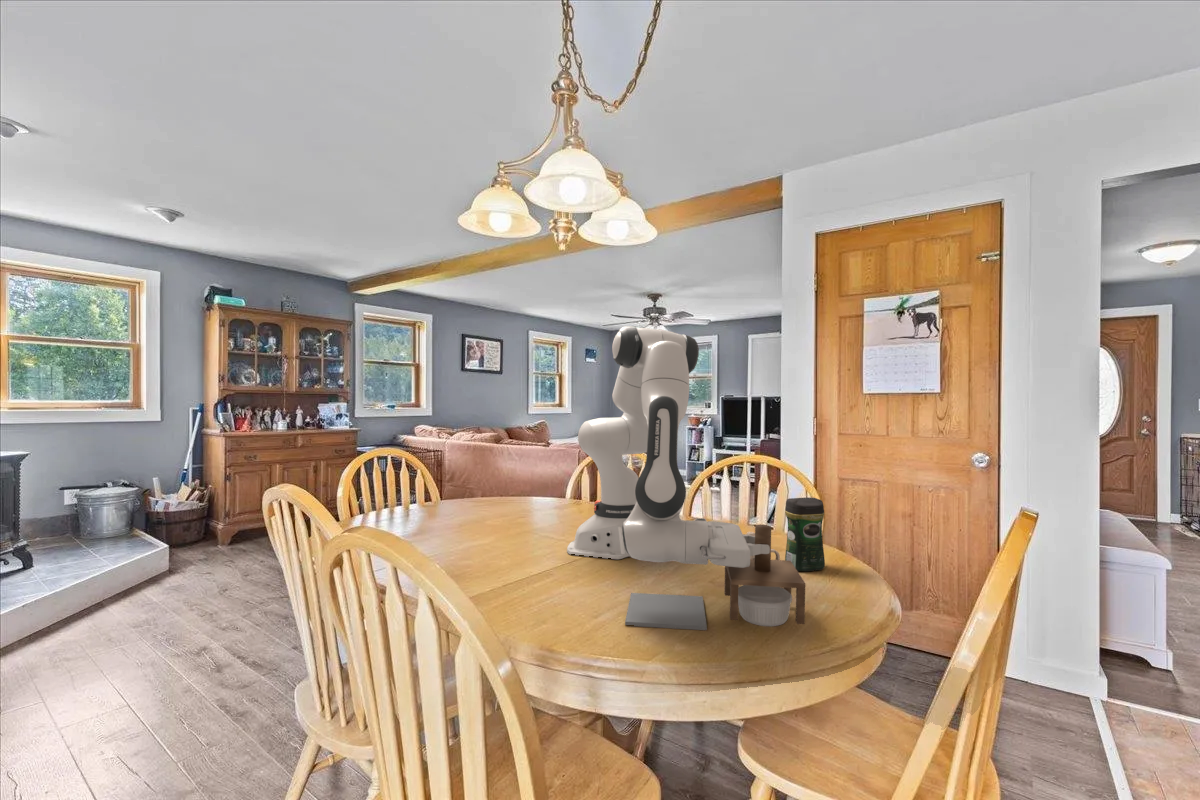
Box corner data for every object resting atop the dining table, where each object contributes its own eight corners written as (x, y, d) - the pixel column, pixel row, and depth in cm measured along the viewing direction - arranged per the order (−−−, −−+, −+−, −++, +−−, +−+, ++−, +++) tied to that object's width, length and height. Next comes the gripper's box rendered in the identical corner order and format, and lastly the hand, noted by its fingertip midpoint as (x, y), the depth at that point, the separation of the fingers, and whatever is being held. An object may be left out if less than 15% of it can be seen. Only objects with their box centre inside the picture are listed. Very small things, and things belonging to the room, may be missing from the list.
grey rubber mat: (625, 625, 111) (625, 621, 111) (631, 596, 127) (631, 592, 127) (706, 630, 109) (706, 626, 109) (702, 599, 125) (702, 596, 125)
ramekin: (759, 633, 108) (759, 606, 108) (724, 612, 118) (724, 587, 118) (804, 623, 112) (804, 597, 112) (766, 604, 123) (766, 580, 123)
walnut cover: (730, 619, 110) (732, 533, 109) (724, 593, 123) (725, 517, 123) (804, 624, 108) (806, 537, 107) (789, 597, 122) (791, 519, 121)
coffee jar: (812, 562, 153) (813, 494, 152) (829, 571, 145) (830, 500, 144) (779, 563, 151) (780, 495, 151) (795, 573, 143) (795, 501, 143)
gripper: (702, 541, 106) (776, 544, 105) (697, 516, 127) (760, 518, 125) (701, 573, 107) (776, 578, 105) (697, 543, 127) (759, 546, 125)
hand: (767, 545), depth 115 cm, fingers closed on walnut cover, 3 cm apart
